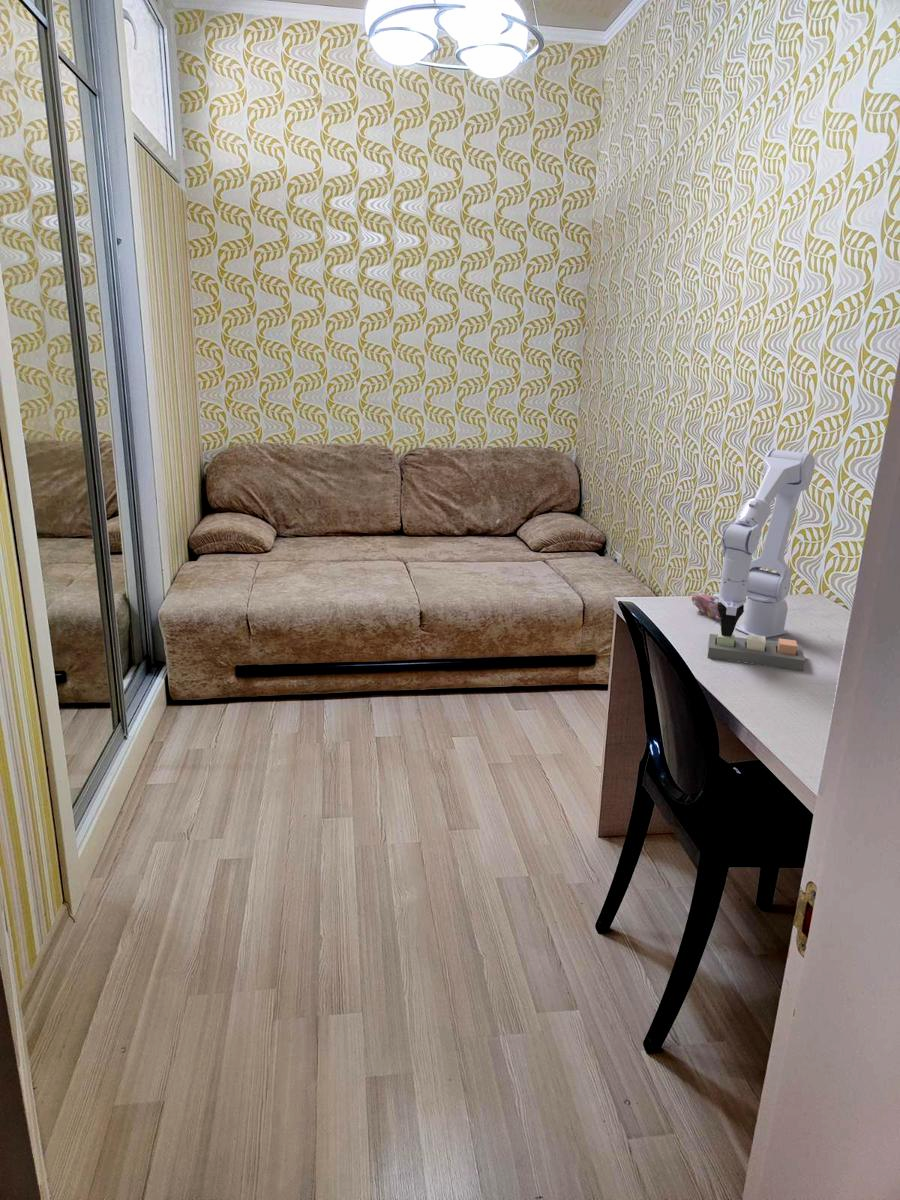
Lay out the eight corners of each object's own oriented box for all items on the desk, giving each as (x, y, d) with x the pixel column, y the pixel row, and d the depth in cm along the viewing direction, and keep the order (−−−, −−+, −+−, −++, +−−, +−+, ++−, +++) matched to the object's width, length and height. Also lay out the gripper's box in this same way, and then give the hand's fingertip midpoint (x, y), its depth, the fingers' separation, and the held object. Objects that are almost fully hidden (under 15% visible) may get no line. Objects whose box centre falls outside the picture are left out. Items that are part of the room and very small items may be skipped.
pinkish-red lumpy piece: (693, 615, 211) (686, 594, 207) (706, 606, 212) (700, 585, 208) (719, 628, 202) (712, 606, 199) (732, 618, 203) (726, 596, 200)
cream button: (763, 648, 181) (765, 636, 180) (763, 654, 178) (765, 642, 177) (746, 646, 182) (748, 634, 181) (746, 652, 179) (748, 640, 178)
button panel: (799, 655, 182) (801, 645, 181) (803, 670, 174) (805, 660, 173) (708, 643, 188) (709, 633, 187) (707, 657, 179) (708, 647, 179)
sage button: (733, 645, 183) (734, 633, 182) (733, 651, 180) (734, 638, 179) (716, 643, 184) (718, 631, 183) (716, 648, 181) (718, 636, 180)
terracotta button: (793, 652, 179) (796, 640, 178) (795, 658, 176) (797, 646, 175) (776, 650, 180) (778, 638, 179) (777, 656, 177) (779, 644, 176)
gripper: (716, 567, 184) (708, 622, 189) (715, 585, 171) (707, 643, 176) (748, 570, 182) (740, 626, 187) (750, 589, 169) (741, 648, 174)
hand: (726, 635), depth 181 cm, fingers closed, pressing on sage button
